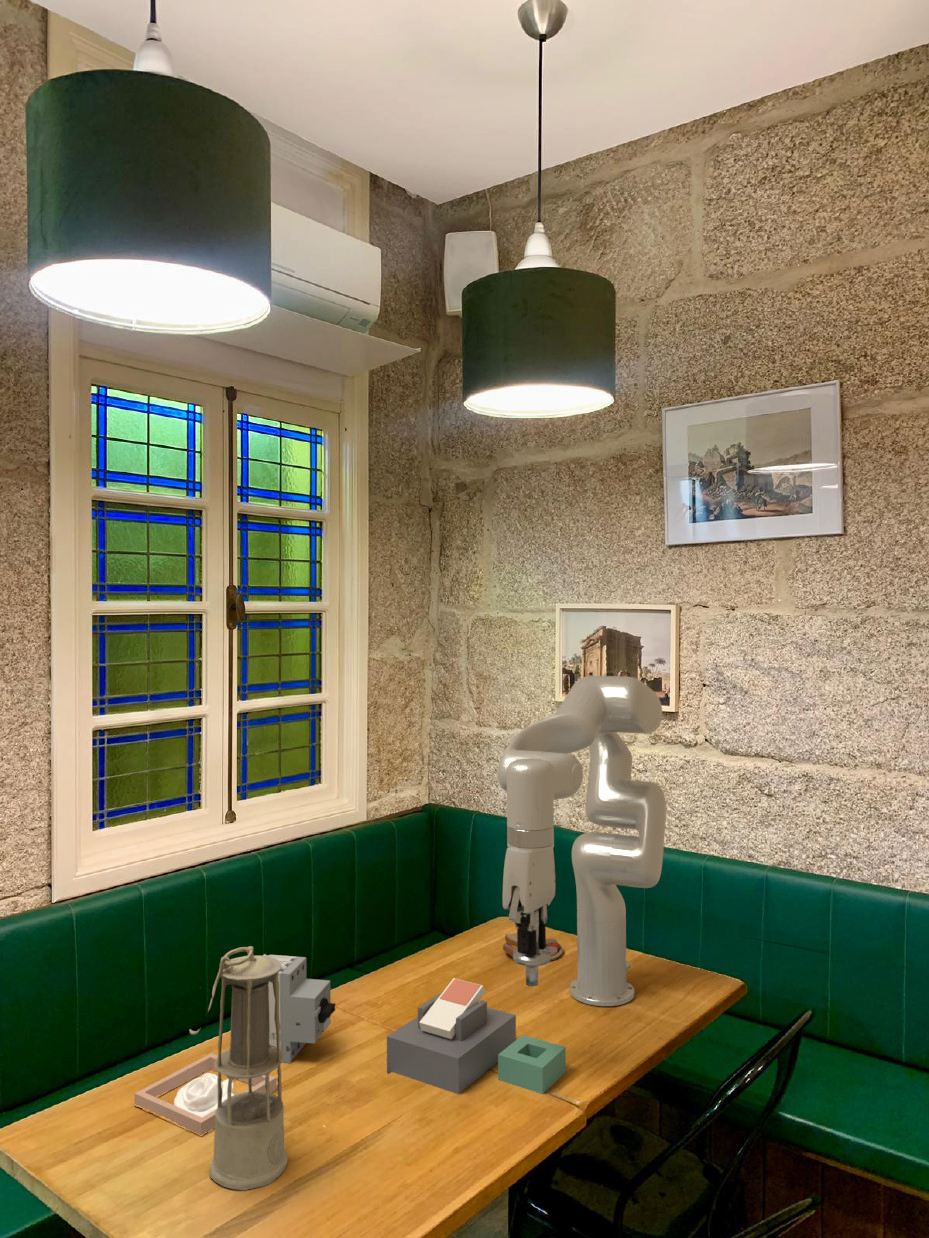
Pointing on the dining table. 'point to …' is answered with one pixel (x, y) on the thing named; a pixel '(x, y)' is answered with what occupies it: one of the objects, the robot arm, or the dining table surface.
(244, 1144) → the lamp
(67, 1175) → the dining table surface
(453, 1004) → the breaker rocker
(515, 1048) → the stylus holder
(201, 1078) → the rose
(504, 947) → the toy sandwich meal
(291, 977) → the circuit breaker
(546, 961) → the metal knob
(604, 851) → the robot arm
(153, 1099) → the pink square frame
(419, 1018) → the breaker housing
